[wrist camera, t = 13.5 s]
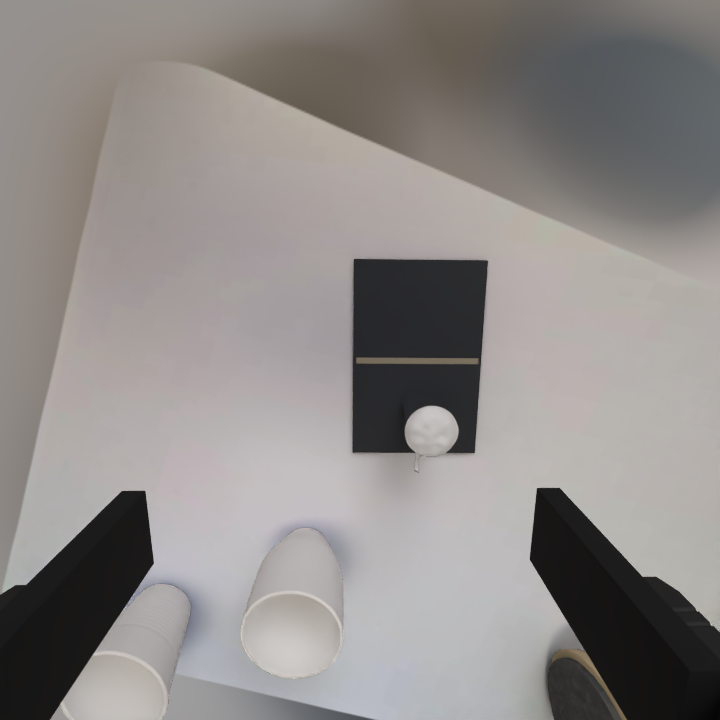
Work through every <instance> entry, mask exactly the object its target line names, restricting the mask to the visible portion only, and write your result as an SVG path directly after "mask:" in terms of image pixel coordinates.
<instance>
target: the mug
mask: <svg viewBox="0 0 720 720" xmlns="http://www.w3.org/2000/svg"><path fill="white" fill-rule="evenodd" d="M240 635H241V641H242V645H243V648H244V650H245V652H246V653H247V655H248V656H249V658H250V659H251V660H252V661H253V662H254V663H255V664H256V665H257V666H258V667H260V668H261V669H263V670H264V671H266V672H268V673H270V674H272V675H275V676H278V677H283V678H290V679H298V678H306V677H310V676H313V675H316V674H318V673H320V672H322V671H324V670H325V669H327V668H328V667H329V666H330V665H331V664H332V663H333V662H334V661H335V660H336V658H337V657H338V655H339V653H340V651H341V648H342V645H343V579H342V573H341V568H340V565H339V563H338V560H337V558H336V556H335V555H334V553H333V551H332V549H331V548H330V546H329V544H328V542H327V541H326V539H325V537H324V536H323V535H322V534H321V533H320V532H318V531H316V530H314V529H311V528H299V529H296V530H294V531H292V532H291V533H290V534H289V535H288V536H286V537H285V538H284V539H283V540H282V541H280V542H279V543H278V544H277V545H276V546H275V547H273V548H272V549H271V550H270V552H269V553H268V554H267V555H266V557H265V558H264V560H263V562H262V564H261V566H260V568H259V571H258V573H257V576H256V579H255V582H254V585H253V588H252V591H251V594H250V597H249V601H248V604H247V607H246V611H245V614H244V617H243V620H242V624H241V630H240Z"/></svg>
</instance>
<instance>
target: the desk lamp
mask: <svg viewBox="0 0 720 720" xmlns="http://www.w3.org/2000/svg"><path fill="white" fill-rule="evenodd" d="M548 690H549V699H550V704H551V708H552V713H553V716H554V720H627V719H626V717H625V716H624V714H623V712H622V711H621V709H620V708H619V706H618V704H617V703H616V701H615V699H614V698H613V696H612V694H611V693H610V691H609V689H608V688H607V686H606V684H605V683H604V681H603V679H602V678H601V676H600V675H599V673H598V671H597V670H596V668H595V666H594V665H593V663H592V661H591V660H590V658H589V656H588V655H587V653H586V652H584V651H581V650H578V649H563V650H559V651H557V652H556V653H555V654H554V656H553V658H552V660H551V666H550V668H549V674H548Z"/></svg>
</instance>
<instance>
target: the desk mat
mask: <svg viewBox="0 0 720 720" xmlns="http://www.w3.org/2000/svg"><path fill="white" fill-rule="evenodd" d="M487 265H488V261H479V260H385V259H354V357H353V452H378V453H416V452H414V451H413V450H412V449H411V448H410V447H409V445H408V444H407V442H406V438H405V427H404V412H403V402H402V401H403V399H404V397H405V396H406V394H407V392H409V391H412V390H414V389H416V388H417V389H422V390H426V391H427V392H428V393H429V394H430V395H431V396H432V397H433V398H434V399H435V400H436V401H437V402H438V403H439V404H441V405H442V406H443V407H444V408H445V409H446V410H448V411H449V412H450V413H451V414H452V415H453V417H454V418H455V420H456V422H457V425H458V429H459V433H458V438H457V440H456V442H455V443H454V445H453V446H452V447H451V449H450V450H449V451H447V452H446V453H475V439H476V425H477V410H478V396H479V381H480V367H481V352H482V338H483V323H484V309H485V294H486V280H487Z"/></svg>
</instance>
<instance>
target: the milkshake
mask: <svg viewBox="0 0 720 720" xmlns="http://www.w3.org/2000/svg"><path fill="white" fill-rule="evenodd" d="M402 402H403V412H404V427H405V438H406V442H407V444H408V445H409V447H410V448H411V449H412V450H413V451H414V452H416V456H415V465H414V471H416V472H418V473H419V467H420V456H421V455H422V456H426V457H436V456H439V455H442V454H444V453H446V452H447V451H449V450H450V449H451V447H452V446H453V445H454V443H455V442H456V440H457V438H458V433H459V429H458V425H457V422H456V420H455V418H454V417H453V415H452V414H451V413H450V412H449V411H448V410H446V409H445V408H444V407H443V406H442V405H441V404H439V403H438V402H437V401H436V400H435V399H434V398H433V397H432V396H431V395H430V394H429V393H428V392H427V391H426V390H422V389H417V388H416V389H414V390H412V391H409V392H407V394H406V396H405V397H404V399H403V401H402Z"/></svg>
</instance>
